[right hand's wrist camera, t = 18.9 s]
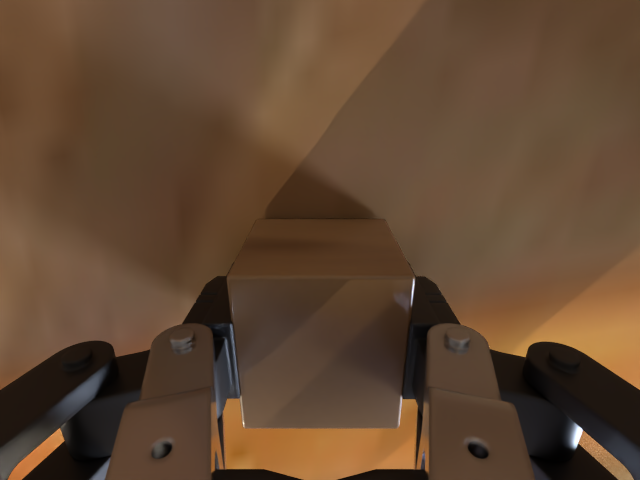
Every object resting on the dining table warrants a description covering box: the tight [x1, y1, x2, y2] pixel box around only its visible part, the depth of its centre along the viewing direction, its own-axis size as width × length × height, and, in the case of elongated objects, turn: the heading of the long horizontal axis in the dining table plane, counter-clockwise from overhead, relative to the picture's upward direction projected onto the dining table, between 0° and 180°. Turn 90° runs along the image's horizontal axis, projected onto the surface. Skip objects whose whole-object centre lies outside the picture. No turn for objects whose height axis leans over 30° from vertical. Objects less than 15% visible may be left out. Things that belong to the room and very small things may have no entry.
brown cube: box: [227, 219, 415, 428], centre depth 10 cm, size 4×4×4 cm
